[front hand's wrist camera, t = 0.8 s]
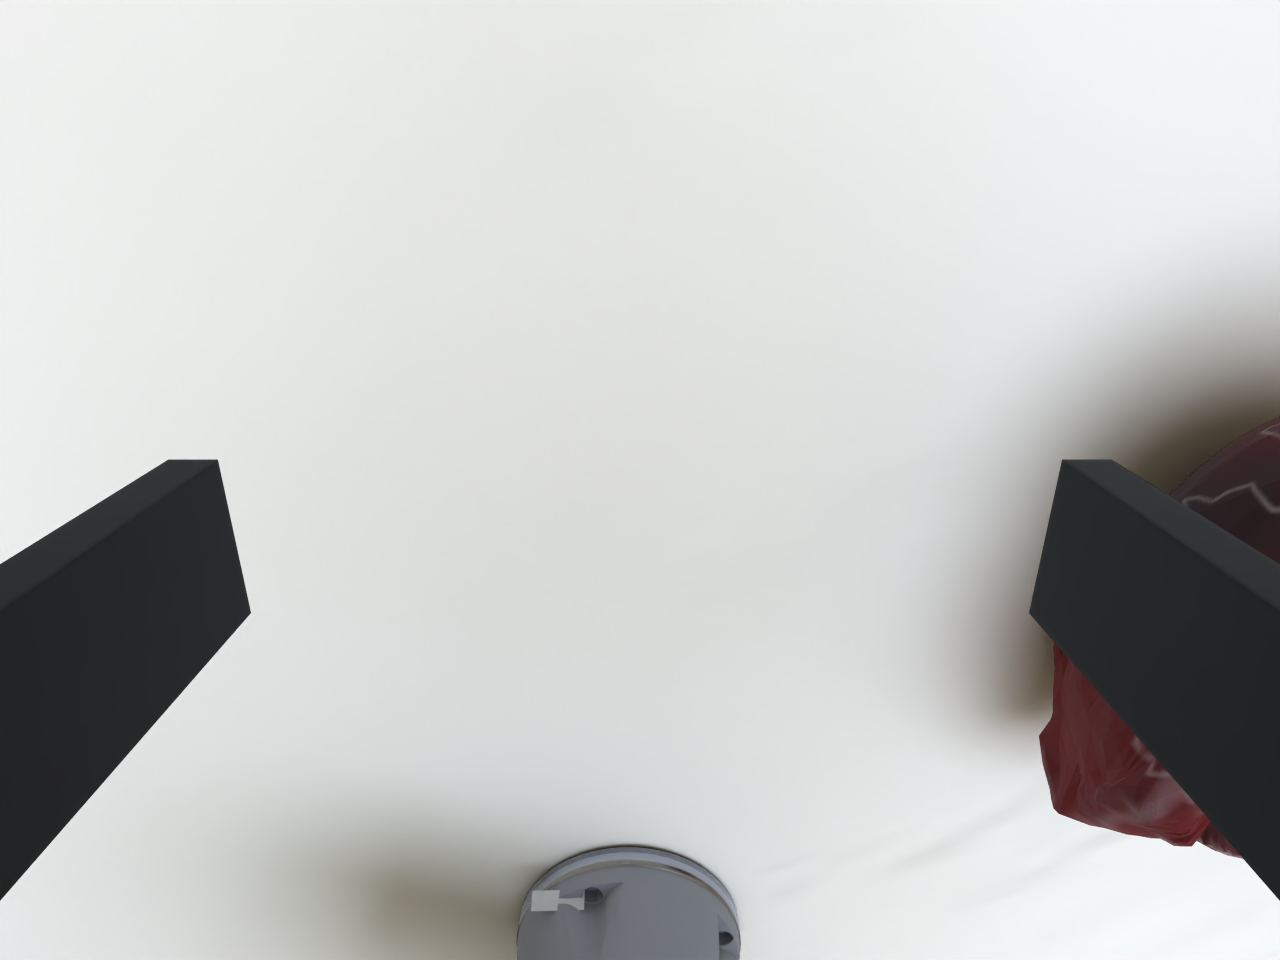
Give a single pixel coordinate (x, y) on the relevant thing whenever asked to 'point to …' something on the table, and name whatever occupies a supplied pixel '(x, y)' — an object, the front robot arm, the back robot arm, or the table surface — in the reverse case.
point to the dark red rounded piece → (1095, 734)
